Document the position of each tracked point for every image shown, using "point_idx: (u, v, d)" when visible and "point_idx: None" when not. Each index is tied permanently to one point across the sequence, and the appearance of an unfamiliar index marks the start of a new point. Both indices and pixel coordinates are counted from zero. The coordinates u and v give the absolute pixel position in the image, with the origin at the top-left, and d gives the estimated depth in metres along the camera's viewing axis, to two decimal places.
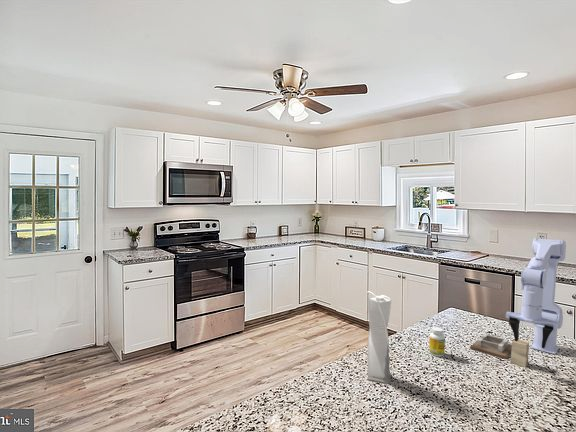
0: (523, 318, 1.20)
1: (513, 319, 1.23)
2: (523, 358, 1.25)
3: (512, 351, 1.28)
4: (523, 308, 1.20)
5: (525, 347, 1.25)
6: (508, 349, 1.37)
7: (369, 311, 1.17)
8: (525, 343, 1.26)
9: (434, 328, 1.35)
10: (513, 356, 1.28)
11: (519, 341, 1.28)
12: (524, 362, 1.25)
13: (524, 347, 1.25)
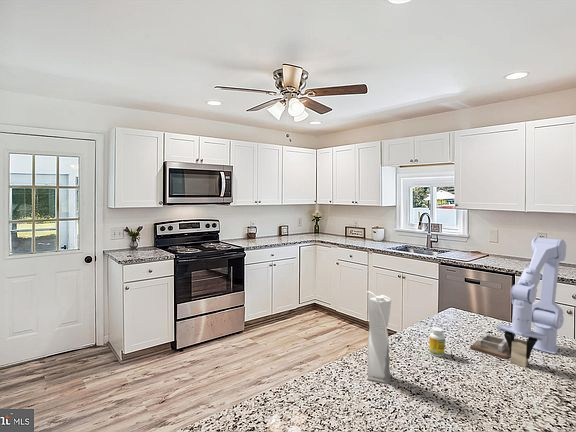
0: (513, 331, 1.27)
1: None
2: (523, 358, 1.25)
3: (512, 351, 1.28)
4: (514, 322, 1.27)
5: (525, 347, 1.25)
6: (508, 349, 1.37)
7: (369, 311, 1.17)
8: (525, 343, 1.26)
9: (434, 328, 1.35)
10: (512, 356, 1.28)
11: (519, 341, 1.28)
12: (524, 362, 1.25)
13: (524, 347, 1.25)
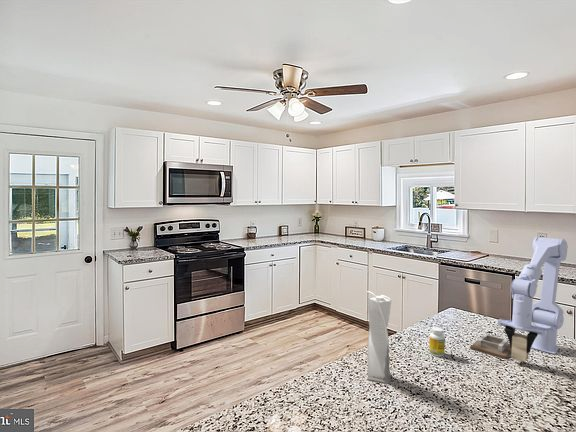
0: (514, 326, 1.27)
1: None
2: (523, 352, 1.25)
3: (512, 345, 1.28)
4: (514, 316, 1.27)
5: (525, 341, 1.25)
6: (508, 349, 1.37)
7: (369, 311, 1.17)
8: (525, 337, 1.26)
9: (434, 328, 1.35)
10: (513, 350, 1.27)
11: (519, 336, 1.28)
12: (524, 356, 1.25)
13: (524, 342, 1.25)
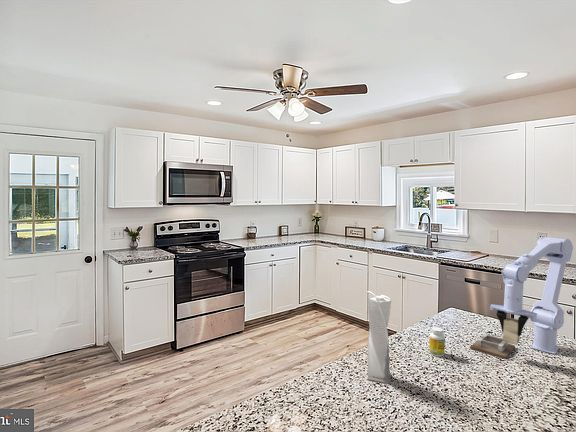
0: (505, 310, 1.30)
1: None
2: (515, 335, 1.29)
3: (504, 329, 1.31)
4: (506, 301, 1.31)
5: (516, 325, 1.28)
6: (508, 349, 1.37)
7: (369, 311, 1.17)
8: (516, 321, 1.30)
9: (434, 328, 1.35)
10: (504, 334, 1.31)
11: (511, 320, 1.31)
12: (516, 339, 1.29)
13: (515, 325, 1.29)
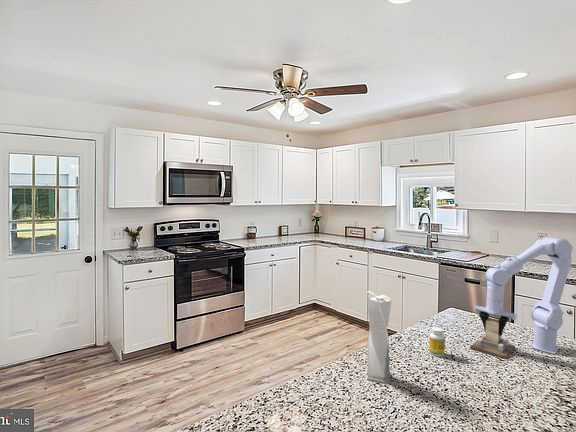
0: (487, 311, 1.39)
1: None
2: (496, 335, 1.37)
3: (486, 329, 1.40)
4: (488, 302, 1.39)
5: (497, 325, 1.37)
6: (508, 349, 1.37)
7: (369, 311, 1.17)
8: (498, 321, 1.38)
9: (434, 328, 1.35)
10: (486, 334, 1.40)
11: (492, 320, 1.40)
12: (496, 339, 1.37)
13: (496, 325, 1.37)
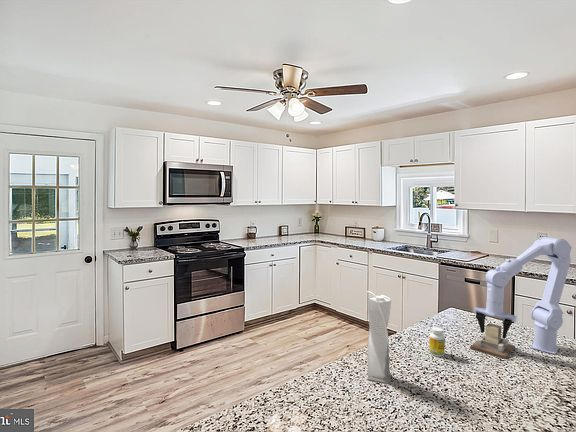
0: (487, 313, 1.39)
1: (479, 314, 1.43)
2: (495, 340, 1.38)
3: (486, 334, 1.40)
4: (487, 304, 1.39)
5: (497, 330, 1.37)
6: (508, 349, 1.37)
7: (369, 311, 1.17)
8: (497, 327, 1.38)
9: (434, 328, 1.35)
10: (486, 339, 1.40)
11: (492, 326, 1.40)
12: None
13: (496, 331, 1.37)
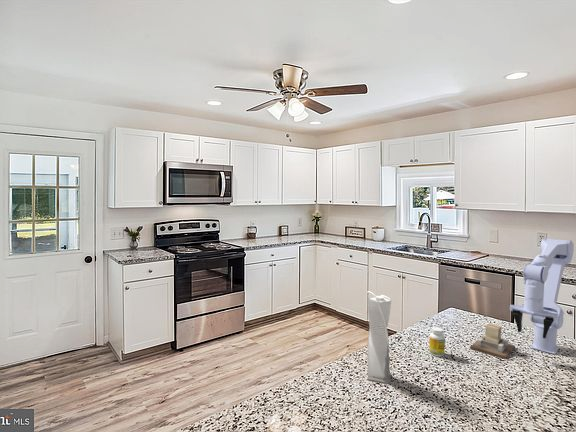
0: (525, 310, 1.29)
1: (516, 312, 1.33)
2: (495, 340, 1.38)
3: (486, 334, 1.40)
4: (526, 301, 1.30)
5: (497, 330, 1.37)
6: (508, 349, 1.37)
7: (369, 311, 1.17)
8: (497, 327, 1.38)
9: (434, 328, 1.35)
10: (486, 339, 1.40)
11: (492, 326, 1.40)
12: None
13: (496, 331, 1.37)
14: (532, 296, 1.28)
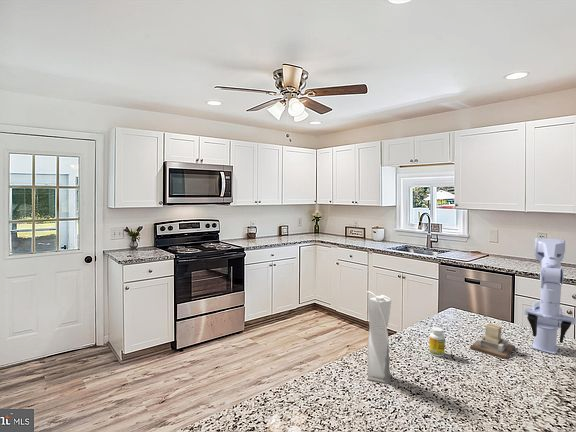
0: (541, 314, 1.26)
1: (531, 315, 1.29)
2: (495, 340, 1.38)
3: (486, 334, 1.40)
4: (542, 305, 1.26)
5: (497, 330, 1.37)
6: (508, 349, 1.37)
7: (369, 311, 1.17)
8: (497, 327, 1.38)
9: (434, 328, 1.35)
10: (486, 339, 1.40)
11: (492, 326, 1.40)
12: None
13: (496, 331, 1.37)
14: (551, 300, 1.24)
